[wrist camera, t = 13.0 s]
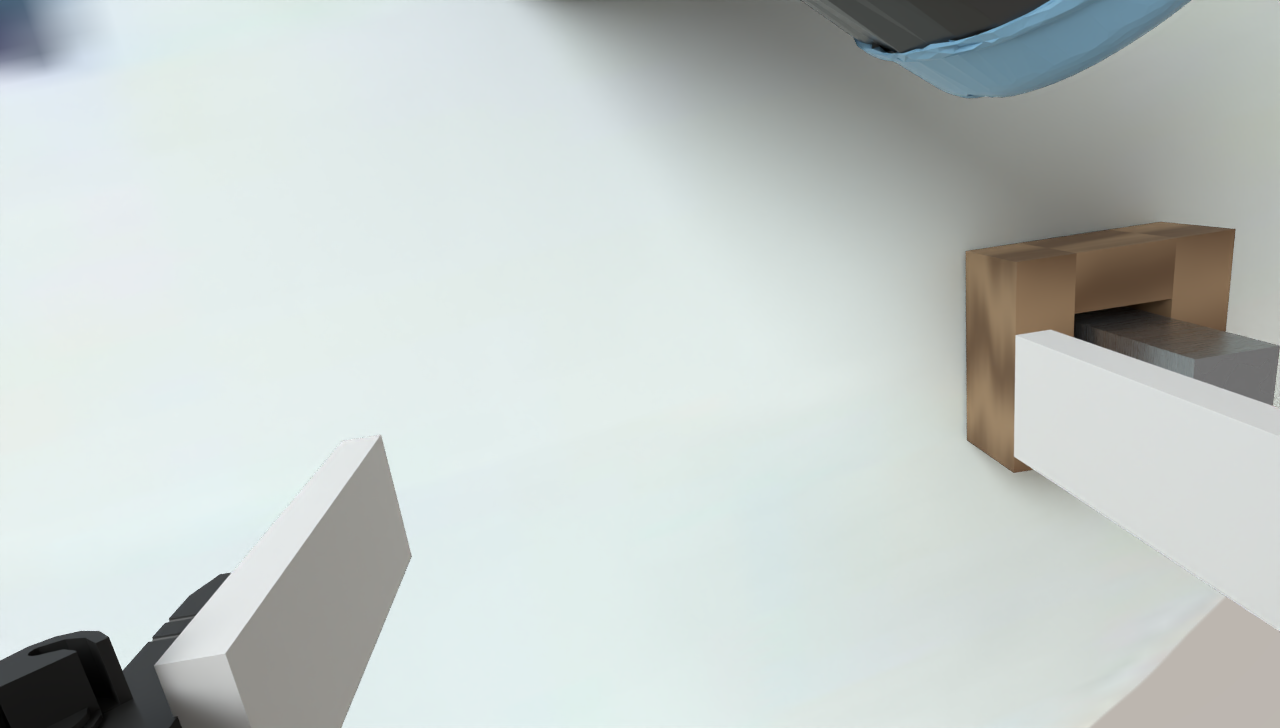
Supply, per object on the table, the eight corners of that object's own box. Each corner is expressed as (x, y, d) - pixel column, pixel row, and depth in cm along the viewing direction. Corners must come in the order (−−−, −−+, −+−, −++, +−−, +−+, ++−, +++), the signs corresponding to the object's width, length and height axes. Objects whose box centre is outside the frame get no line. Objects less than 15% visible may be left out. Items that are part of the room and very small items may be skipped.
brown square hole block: (965, 251, 42) (1016, 262, 37) (1160, 221, 42) (1235, 229, 38) (966, 440, 45) (1013, 472, 40) (1147, 410, 46) (1215, 439, 41)
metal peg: (1028, 307, 43) (1194, 359, 32) (1092, 297, 43) (1279, 345, 32) (1027, 370, 44) (1187, 442, 33) (1089, 360, 44) (1269, 428, 33)
